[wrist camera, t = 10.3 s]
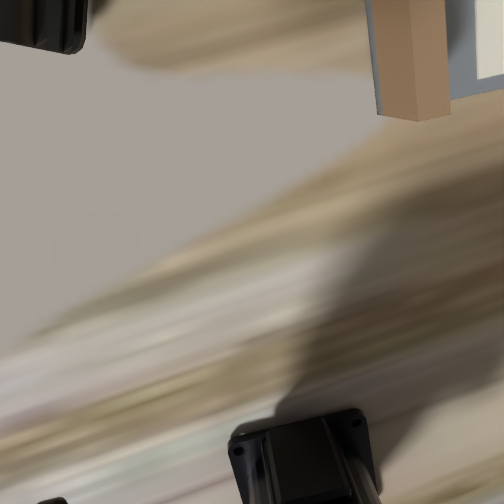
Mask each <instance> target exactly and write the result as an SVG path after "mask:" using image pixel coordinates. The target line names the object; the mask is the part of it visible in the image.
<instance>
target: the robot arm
mask: <svg viewBox="0 0 504 504" xmlns="http://www.w3.org/2000/svg"><path fill="white" fill-rule="evenodd" d="M353 419H357V420H356V421H354V422H351V421H352V420H353ZM237 447H242V448H241V449H235V448H237ZM228 455H229V458H230V462H231V465H232V468H233V472H234V475H235V478H236V482H237V485H238V489H239V492H240V495H241V499H242V502H243V504H382V503H381V501H380V499H379V496H378V493H377V487H376V480H375V473H374V467H373V460H372V454H371V447H370V441H369V434H368V427H367V421H366V418H365V416H364V414H363V412H362V411H361V410H360V409H356V408H354V409H348V410H344V411H340V412H336V413H332V414H328V415H324V416H319V417H315V418H311V419H307V420H303V421H299V422H294V423H290V424H286V425H282V426H278V427H274V428H270V429H265V430H261V431H257V432H253V433H249V434H245V435H241V436H236V437H234V438H232V439H231V440H230V441H229V442H228ZM37 504H68V503H67V501H66V500H65V499H64V498H63V497H57V498H52V499H48V500H44V501H41V502H39V503H37Z"/></svg>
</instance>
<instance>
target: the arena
mask: <svg viewBox="0 0 504 504" xmlns="http://www.w3.org/2000/svg"><path fill="white" fill-rule="evenodd" d="M365 5H366V14H367V24H368V33H369V42H370V51H371V60H372V70H373V79H374V88H375V97H376V106H377V115H383V116H388V117H394V118H400V119H406V120H411V121H417V122H420V121H424V120H428V119H433V118H437V117H441V116H446V115H450V114H451V109H450V100H453V99H458V98H462V97H467V96H471V95H475V94H480V93H484V92H488V91H493V90H497V89H501V88H504V0H365Z"/></svg>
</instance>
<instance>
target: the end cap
mask: <svg viewBox="0 0 504 504" xmlns="http://www.w3.org/2000/svg"><path fill="white" fill-rule="evenodd" d="M87 9H88V0H0V41H2V42H7V43H12V44H17V45H22V46H27V47H32V48H37V49H42V50H47V51H52V52H57V53H62V54H68V55H70V54H76V53H77V52H78V51H80V50H81V49H82V48H83V45H84V42H85V39H86V24H87Z"/></svg>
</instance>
